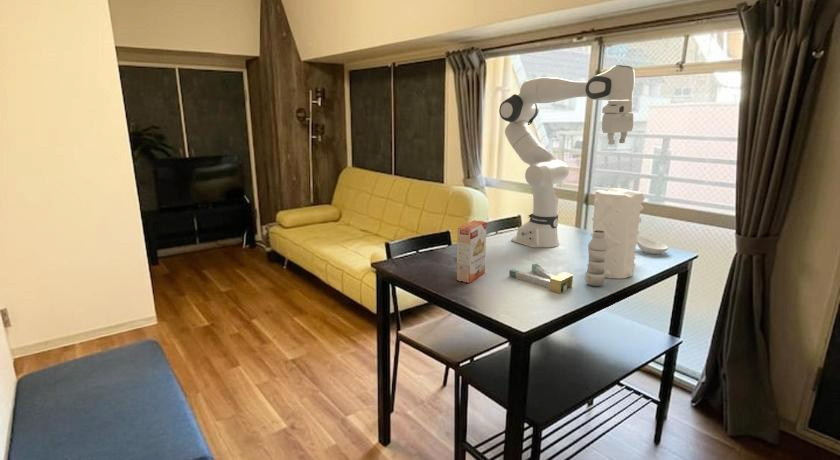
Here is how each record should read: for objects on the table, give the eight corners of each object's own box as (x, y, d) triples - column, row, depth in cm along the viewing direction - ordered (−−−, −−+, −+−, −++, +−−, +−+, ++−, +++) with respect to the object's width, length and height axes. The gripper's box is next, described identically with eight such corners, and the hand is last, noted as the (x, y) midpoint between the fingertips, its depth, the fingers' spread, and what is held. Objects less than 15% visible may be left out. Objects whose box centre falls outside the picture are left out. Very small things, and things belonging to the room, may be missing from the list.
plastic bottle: (581, 282, 169) (585, 229, 163) (599, 281, 169) (603, 228, 164) (589, 288, 162) (593, 234, 157) (607, 287, 163) (612, 233, 158)
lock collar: (572, 287, 164) (572, 274, 163) (559, 293, 158) (560, 281, 157) (561, 284, 167) (562, 272, 165) (549, 290, 161) (550, 278, 160)
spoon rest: (671, 252, 201) (673, 237, 200) (661, 258, 194) (663, 242, 192) (617, 242, 218) (619, 227, 216) (606, 247, 210) (608, 232, 208)
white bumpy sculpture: (578, 268, 183) (584, 189, 175) (609, 262, 189) (616, 186, 181) (611, 282, 168) (619, 196, 160) (643, 275, 174) (653, 192, 166)
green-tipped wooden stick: (568, 290, 161) (569, 282, 161) (563, 292, 159) (563, 285, 158) (514, 274, 178) (514, 267, 177) (509, 276, 175) (509, 269, 175)
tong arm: (557, 284, 166) (557, 277, 166) (551, 284, 166) (552, 278, 165) (536, 270, 181) (536, 263, 181) (531, 270, 181) (532, 264, 180)
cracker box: (470, 284, 168) (471, 229, 163) (456, 281, 171) (456, 227, 166) (486, 272, 180) (487, 221, 174) (472, 270, 183) (473, 219, 178)
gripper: (623, 108, 189) (620, 142, 192) (600, 108, 175) (597, 145, 179) (639, 107, 184) (635, 142, 188) (616, 108, 171) (613, 145, 174)
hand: (616, 143), depth 183 cm, fingers open, 8 cm apart
